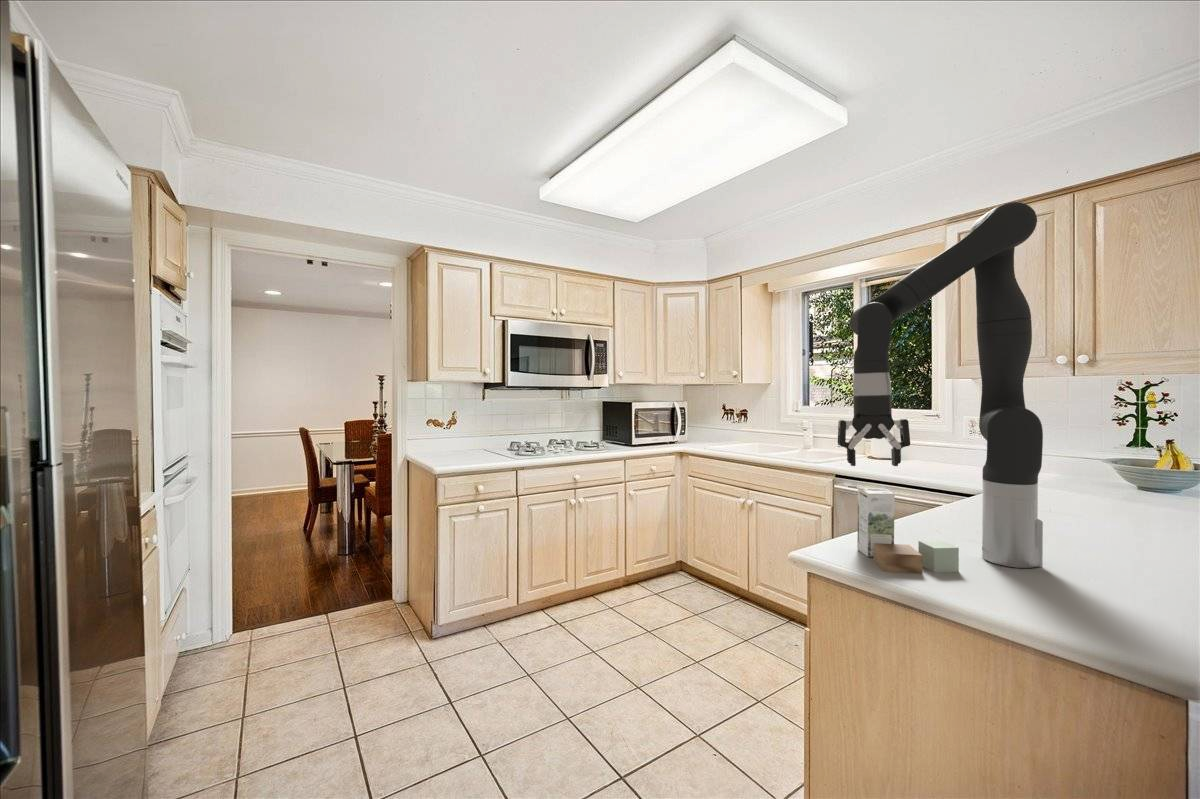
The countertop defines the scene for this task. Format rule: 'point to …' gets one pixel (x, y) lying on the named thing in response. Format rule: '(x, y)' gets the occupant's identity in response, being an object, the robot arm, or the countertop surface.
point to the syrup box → (875, 519)
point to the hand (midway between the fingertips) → (873, 465)
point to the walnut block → (897, 558)
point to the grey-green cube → (939, 556)
